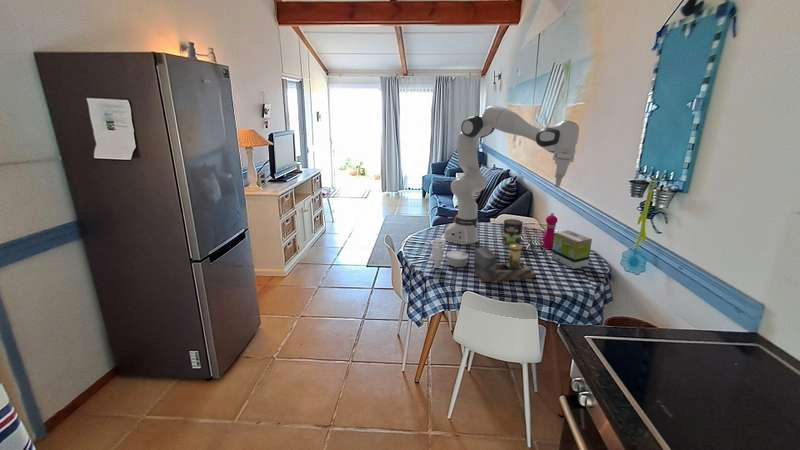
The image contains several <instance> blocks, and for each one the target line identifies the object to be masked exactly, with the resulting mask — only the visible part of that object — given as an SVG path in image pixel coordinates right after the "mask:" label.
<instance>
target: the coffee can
mask: <svg viewBox="0 0 800 450" xmlns="http://www.w3.org/2000/svg"><path fill="white" fill-rule="evenodd" d="M523 223H524V222H523V221H522V220H520V219H516V218H509V219H505V220H503V229H502V230H503V231H502V241H501V245H502V247H505V248H508V249H509V244H520V245H521V241H522V233H523V232H522V231H523V225H524V224H523Z"/></svg>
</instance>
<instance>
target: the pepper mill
mask: <svg viewBox="0 0 800 450" xmlns="http://www.w3.org/2000/svg"><path fill="white" fill-rule="evenodd" d="M545 221H546V225H545V226H546V230H545V233H544V234H543V237H542V242H543V243H542V247H543V246H544V247H545V249H548V250H551V249H553V241H554V233H555V229H556V226H557V223H558V217H557V216H556V215H555V213H554V212H551V213H550V215H547V217H546V218H545ZM544 247H543V248H544Z"/></svg>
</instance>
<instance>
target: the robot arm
mask: <svg viewBox="0 0 800 450" xmlns="http://www.w3.org/2000/svg"><path fill="white" fill-rule="evenodd" d="M460 126H461V127H460V129H461V131H460V132H459V133H458V136H457V142H456V143H457V145H456V146H457V147H456V149H457V150H456V151H457V152H456V153H457V165H458V167H459V168H461V170H462V171H463V175H462V176H458V177H456V178H454V179H453V180H452V181H451V183H450V190H451V192H452V194H453V195H454V196H455V198H456V200H457V205H458V211H457V214H456V215H455V216H454V221H453V222H452V223H451V224H450V225H448V226H447V227H446V228H445V230H444V233H443V234H441V236H440V239H445V242H447V241H448V242H447V243H452V242H453V244H457V243H458V244H457V245H462V246H464V245H468V244H475V243H477V242H479V235H478V225H479V219H478V210H479V209H478V207H479V206H478V203H477V202H476V200H475V199H474V194H476V193H479V192H481V191H484V189H486V187H487V185H488V181H487V178H486V177H485V175H484V174H483V173H482V171H481V168H480V165H479V158H478V141H479V139H483V138H485V137H487V136H490V135H491V134H493V132H494V131H495V130H498V131H500V132H502V133H506V134H511V135H516V136H521V137H524V138H526V139H530V140H532V141H533V142H535V143H536V144H537V145H538V146H539V147H540V148H542V149H544V150H546V151H547V152H549V153H550V154H553V157H552V161H554V164H555V165H556V170H555V174H554V178H555V185H554V187H555V188H557V189H558V188H559V187H561V183H562V180H563V178H564V177H565V176H566V173H567V170H568V168H569V166H570V164H571V163H573V162H574V159H575V154H576V146H577V144H578V141H579V134H580V126H579V125H578V123H576V122H574V121H571V120H562V121H561V122H559V123H557V124H554V125H552V126H547V127H542V128H539V127H536V126H534V125H532V124H531V123H529V122H527V121H526V120H525V119H524V118H523V117H522V116H520V115H519V114H518V113H516V112H514V111H512V110H511V109H508V108H506V107H504V106H497V105H493V104H492V105H489V106H486V108H485V109H484V110H483V113H482V114H481V115H478V114H476V115H473V116H468V117H466V118H465V119H464V120H463V121H462V123H461V124H460Z"/></svg>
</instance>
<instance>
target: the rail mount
mask: <svg viewBox="0 0 800 450" xmlns="http://www.w3.org/2000/svg"><path fill="white" fill-rule="evenodd" d="M505 264H509V262H506V263H505V262H504V263H498V257H497V255H495V253H494V252H492V250H491V249H489V248H488V247H479V248H474V264H473V266H474V267H473V268H474V273H475V275H476V276H477V278H479V280H480V281H481V282H482V283H485V282H495V281H496V282H497V281H498V282H499V281H506V280H507V281H510V280H521V279H523V280H524V279H534V278H535V279H536V277H537V274H536V272H534V271H533V269H532V268H530V267H528V265H526V264H525V263H524V261H520V266H521V267H522V268H523V269H520V270H507V269H506V268H505Z"/></svg>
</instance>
